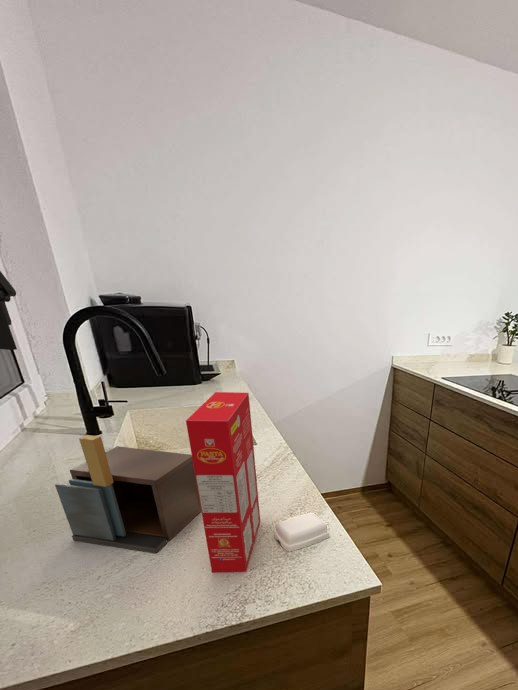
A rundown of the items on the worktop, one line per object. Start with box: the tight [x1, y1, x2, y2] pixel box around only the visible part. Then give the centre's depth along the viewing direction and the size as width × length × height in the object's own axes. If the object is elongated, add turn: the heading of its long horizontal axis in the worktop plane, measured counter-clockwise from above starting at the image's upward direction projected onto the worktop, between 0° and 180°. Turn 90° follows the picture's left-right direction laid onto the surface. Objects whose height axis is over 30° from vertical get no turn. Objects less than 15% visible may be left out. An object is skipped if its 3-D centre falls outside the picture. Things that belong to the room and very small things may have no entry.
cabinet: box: [54, 446, 202, 554], centre depth 69 cm, size 16×14×12 cm
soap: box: [273, 512, 330, 552], centre depth 70 cm, size 9×7×3 cm
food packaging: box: [185, 391, 261, 573], centre depth 62 cm, size 15×5×25 cm, turn 4°
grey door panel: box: [68, 434, 127, 537], centre depth 63 cm, size 8×2×18 cm, turn 80°
